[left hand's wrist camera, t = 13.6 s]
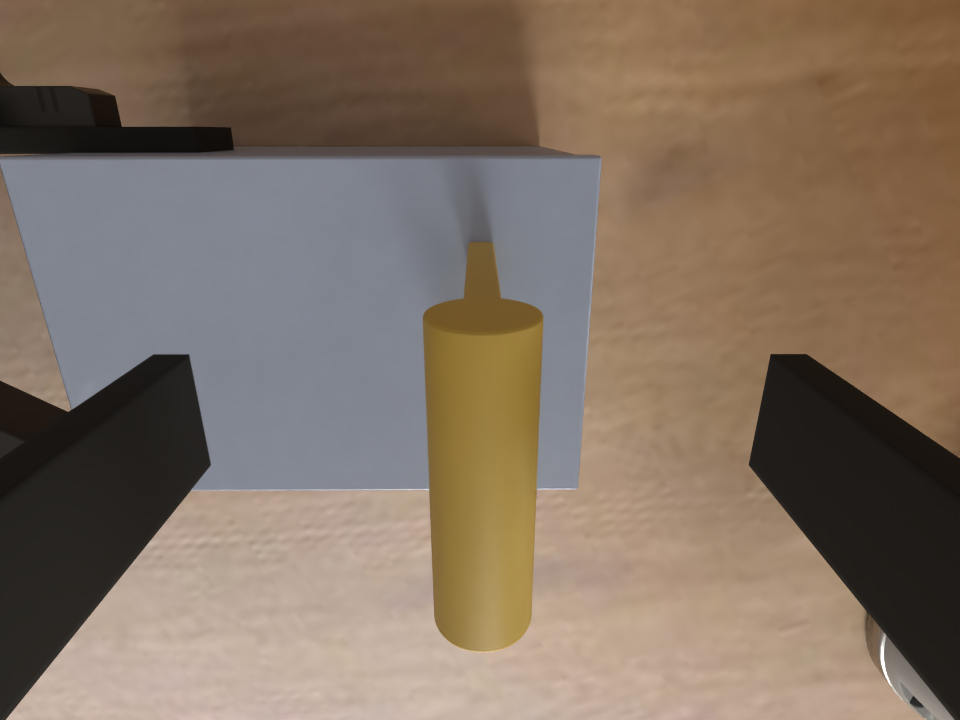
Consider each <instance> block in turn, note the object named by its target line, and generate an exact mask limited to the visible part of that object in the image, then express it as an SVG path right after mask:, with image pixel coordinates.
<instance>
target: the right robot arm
mask: <svg viewBox="0 0 960 720" xmlns="http://www.w3.org/2000/svg"><path fill="white" fill-rule="evenodd" d="M228 150H234V146H233V140H232V133H231V128H227V127H122V126H121V121H120V117H119V112H118V107H117V103H116V98H115V96H114V95H111V94H109V93H106V92H104V91H101V90H99V89H91V88H82V87H73V86H14V85H12V84H10V83H9V82H8V81H7V80H6V79H5V78H4V77H3V76H2V75H1V73H0V154H60V153H201V152H215V151H228ZM66 413H68V412H67V411H65V410H63V409H60V408H58V407H56V406H54V405H52V404H49V403H47V402H45V401H43V400H41V399H39V398H36V397H34V396H32V395H30V394H28V393H26V392H23V391H21V390H19V389H17V388H15V387H12V386H10V385H8V384H6V383H4V382H2V381H0V458H2V457H3V456H5V455H6V454H8V453H9V452H10V451H12V450H13V449H15V448H16V447H18V446H19V445H21V444H22V443H24V442H25V441H27V440H28V439H30V438H31V437H33V436H34V435H35V434H37V433H38V432H40V431H41V430H43V429H44V428H46V427H47V426H49V425H50V424H52V423H53V422H55V421H56V420H58V419H59V418H60V417H62V416H63V415H65V414H66Z"/></svg>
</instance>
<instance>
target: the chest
mask: <svg viewBox="0 0 960 720" xmlns="http://www.w3.org/2000/svg"><path fill="white" fill-rule="evenodd" d="M83 155H575V154H571V153H566V152H562V151H558V150H553V149H549V148H545V147H540V146H308V147H234V150H228V151H215V152H201V153H60V154H41V155H25V156H83Z"/></svg>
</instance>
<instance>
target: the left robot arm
mask: <svg viewBox="0 0 960 720" xmlns="http://www.w3.org/2000/svg"><path fill="white" fill-rule="evenodd" d="M210 466H211V462H210V457H209V452H208V447H207V442H206V437H205V432H204V426H203V421H202V416H201V411H200V406H199V401H198V396H197V391H196V386H195V381H194V376H193V371H192V366H191V361H190V356H189V354H153V355H152V356H150V357H149V358H147V359H146V360H144V361H143V362H141V363H140V364H138V365H137V366H135V367H134V368H133V369H131V370H130V371H128V372H127V373H125V374H124V375H122V376H121V377H119V378H118V379H116V380H115V381H113V382H112V383H110V384H109V385H108V386H106V387H105V388H103V389H102V390H100V391H99V392H97V393H96V394H94V395H93V396H91V397H90V398H88V399H87V400H85V401H84V402H83V403H81V404H80V405H78V406H77V407H75V408H74V409H72V410H71V411H69V412H68V413H66V414H65V415H63V416H62V417H60V418H59V419H58V420H56V421H55V422H53V423H52V424H50V425H49V426H47V427H46V428H44V429H43V430H41V431H40V432H38V433H37V434H35V435H34V436H33V437H31V438H30V439H28V440H27V441H25V442H24V443H22V444H21V445H19V446H18V447H16V448H15V449H13V450H12V451H10V452H9V453H8V454H6V455H5V456H3V457H2V458H0V720H6V719H7V717H8V716H9V715H10V714H11V712H12V711H13V710H14V709H15V707H16V706H17V705H18V704H19V702H20V701H21V700H22V699H23V697H24V696H25V695H26V694H27V693H28V691H29V690H30V689H31V688H32V686H33V685H34V684H35V683H36V681H37V680H38V679H39V678H40V676H41V675H42V674H43V673H44V671H45V670H46V669H47V668H48V667H49V665H50V664H51V663H52V662H53V660H54V659H55V658H56V657H57V655H58V654H59V653H60V652H61V650H62V649H63V648H64V647H65V645H66V644H67V643H68V642H69V641H70V639H71V638H72V637H73V636H74V634H75V633H76V632H77V631H78V629H79V628H80V627H81V626H82V624H83V623H84V622H85V621H86V619H87V618H88V617H89V616H90V615H91V613H92V612H93V611H94V610H95V608H96V607H97V606H98V605H99V603H100V602H101V601H102V600H103V598H104V597H105V596H106V595H107V593H108V592H109V591H110V590H111V589H112V587H113V586H114V585H115V584H116V582H117V581H118V580H119V579H120V577H121V576H122V575H123V574H124V572H125V571H126V570H127V569H128V567H129V566H130V565H131V564H132V563H133V561H134V560H135V559H136V558H137V556H138V555H139V554H140V553H141V551H142V550H143V549H144V548H145V546H146V545H147V544H148V543H149V541H150V540H151V539H152V538H153V537H154V535H155V534H156V533H157V532H158V530H159V529H160V528H161V527H162V525H163V524H164V523H165V522H166V520H167V519H168V518H169V517H170V515H171V514H172V513H173V512H174V511H175V509H176V508H177V507H178V506H179V504H180V503H181V502H182V501H183V499H184V498H185V497H186V496H187V494H188V493H189V492H190V491H191V489H192V488H193V487H194V486H195V485H196V483H197V482H198V481H199V480H200V478H201V477H202V476H203V475H204V473H205V472H206V471H207V470H208V468H209V467H210ZM749 466H750V467H751V468H752V470H753V471H754V472H755V473H756V475H757V476H758V477H759V478H760V480H761V481H762V482H763V483H764V485H765V486H766V487H767V488H768V490H769V491H770V492H771V493H772V494H773V496H774V497H775V498H776V499H777V501H778V502H779V503H780V504H781V506H782V507H783V508H784V509H785V511H786V512H787V513H788V514H789V516H790V517H791V518H792V519H793V520H794V522H795V523H796V524H797V525H798V527H799V528H800V529H801V530H802V532H803V533H804V534H805V535H806V537H807V538H808V539H809V540H810V542H811V543H812V544H813V545H814V546H815V548H816V549H817V550H818V551H819V553H820V554H821V555H822V556H823V558H824V559H825V560H826V561H827V563H828V564H829V565H830V566H831V568H832V569H833V570H834V571H835V572H836V574H837V575H838V576H839V577H840V579H841V580H842V581H843V582H844V584H845V585H846V586H847V587H848V589H849V590H850V591H851V592H852V594H853V595H854V596H855V597H856V598H857V600H858V601H859V602H860V603H861V605H862V606H863V607H864V608H865V610H866V611H867V612H868V613H869V615H868V619H867V626H866V641H867V646H868V650H869V653H870V656H871V658H872V660H873V662H874V664H875V665H876V667H877V668H878V670H879V671H880V672H881V674H882V675H883V676H884V678H885V679H886V680H887V682H888V683H889V684H890V686H891V687H892V688H893V690H894V691H895V692H896V694H897V695H898V696H899V697H900V698H901V699H902V700H903V701H905V702H906V703H907V704H908V705H909V706H910V707H911V708H912V709H913V710H915V711H916V712H917V713H918V714H920V715H921V716H922V717H924V718H925V719H927V720H960V458H958V457H957V456H955V455H954V454H952V453H951V452H949V451H948V450H947V449H945V448H944V447H942V446H941V445H939V444H938V443H936V442H935V441H933V440H932V439H930V438H929V437H927V436H926V435H924V434H923V433H922V432H920V431H919V430H917V429H916V428H914V427H913V426H911V425H910V424H908V423H907V422H905V421H904V420H902V419H901V418H899V417H898V416H897V415H895V414H894V413H892V412H891V411H889V410H888V409H886V408H885V407H883V406H882V405H880V404H879V403H877V402H876V401H874V400H873V399H872V398H870V397H869V396H867V395H866V394H864V393H863V392H861V391H860V390H858V389H857V388H855V387H854V386H852V385H851V384H849V383H848V382H847V381H845V380H844V379H842V378H841V377H839V376H838V375H836V374H835V373H833V372H832V371H830V370H829V369H827V368H826V367H824V366H823V365H822V364H820V363H819V362H817V361H816V360H814V359H813V358H811V357H810V356H808V355H807V354H771V356H770V361H769V366H768V371H767V376H766V381H765V386H764V391H763V396H762V401H761V406H760V411H759V416H758V421H757V426H756V431H755V436H754V441H753V447H752V452H751V457H750V462H749Z"/></svg>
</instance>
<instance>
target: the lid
mask: <svg viewBox="0 0 960 720" xmlns="http://www.w3.org/2000/svg"><path fill="white" fill-rule="evenodd" d="M601 161H602V159H601V157H600V156H598V155H83V156H3V157H0V167H1V170H2V174H3V177H4V180H5V184H6V187H7V191H8V194H9V198H10V201H11V204H12V208H13V211H14V215H15V218H16V222H17V225H18V228H19V232H20V235H21V239H22V242H23V246H24V249H25V252H26V256H27V259H28V263H29V266H30V270H31V273H32V276H33V280H34V283H35V287H36V290H37V293H38V297H39V300H40V304H41V307H42V311H43V314H44V317H45V321H46V324H47V328H48V331H49V335H50V338H51V341H52V345H53V348H54V352H55V355H56V359H57V362H58V365H59V369H60V372H61V376H62V379H63V383H64V386H65V389H66V393H67V396H68V400H69V403H70V407H71V410H72V409H74V408H75V407H77V406H78V405H80V404H81V403H83V402H84V401H85V400H87V399H88V398H90V397H91V396H93V395H94V394H96V393H97V392H99V391H100V390H102V389H103V388H105V387H106V386H108V385H109V384H110V383H112V382H113V381H115V380H116V379H118V378H119V377H121V376H122V375H124V374H125V373H127V372H128V371H130V370H131V369H133V368H134V367H135V366H137V365H138V364H140V363H141V362H143V361H144V360H146V359H147V358H149V357H150V356H152V355H153V354H189V356H190V361H191V366H192V371H193V376H194V381H195V386H196V391H197V396H198V401H199V406H200V411H201V416H202V421H203V426H204V432H205V437H206V442H207V447H208V452H209V457H210V462H211V466H210V467H209V468H208V470H207V471H206V472H205V473H204V475H203V476H202V477H201V478H200V480H199V481H198V482H197V483H196V485H195V486H194V487H193V488H192V489H191V491H204V490H429V493H430V518H431V543H432V569H433V594H434V617H435V622H436V625H437V627H438V629H439V631H440V632H441V634H442V635H443V636H444V637H445V638H446V639H447V640H448V641H449V642H451V643H452V644H453V645H455V646H457V647H459V648H462V649H464V650H468V651H472V652H482V653H484V652H494V651H498V650H502V649H504V648H507V647H509V646H511V645H512V644H514V643H515V642H517V641H518V640H519V639H520V638H521V637H522V636H523V635H524V633H525V632H526V631H527V629H528V627H529V624H530V621H531V612H532V587H533V563H534V538H535V514H536V490H576V489H577V488H578V480H579V466H580V453H581V439H582V425H583V411H584V397H585V383H586V369H587V356H588V342H589V328H590V314H591V300H592V286H593V272H594V259H595V245H596V231H597V217H598V203H599V189H600V175H601Z"/></svg>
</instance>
